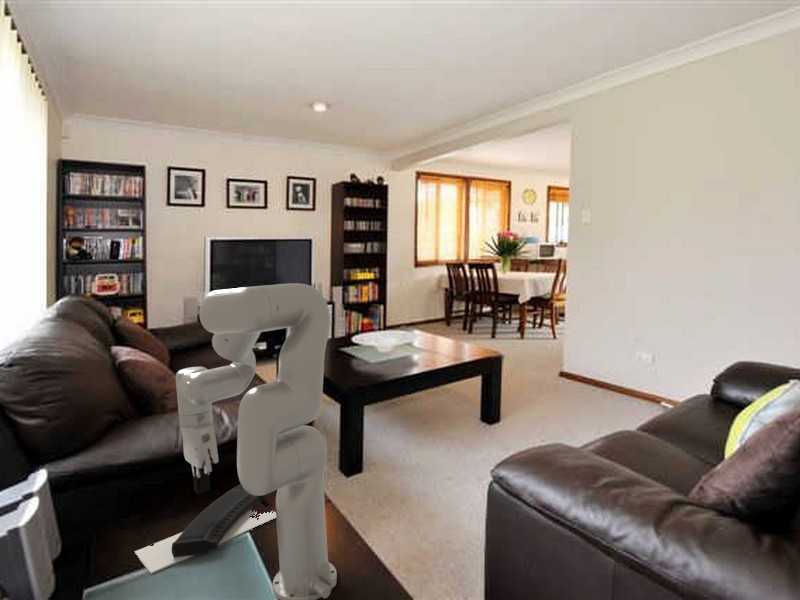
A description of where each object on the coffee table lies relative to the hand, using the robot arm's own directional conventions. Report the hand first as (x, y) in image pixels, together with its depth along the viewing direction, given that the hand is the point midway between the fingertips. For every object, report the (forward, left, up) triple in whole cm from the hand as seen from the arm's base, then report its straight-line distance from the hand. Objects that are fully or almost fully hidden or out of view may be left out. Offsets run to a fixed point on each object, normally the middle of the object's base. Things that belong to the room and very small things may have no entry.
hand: (202, 491), depth 120 cm
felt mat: (-4, 0, -10) cm, 10 cm away
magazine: (+3, -1, -8) cm, 8 cm away
